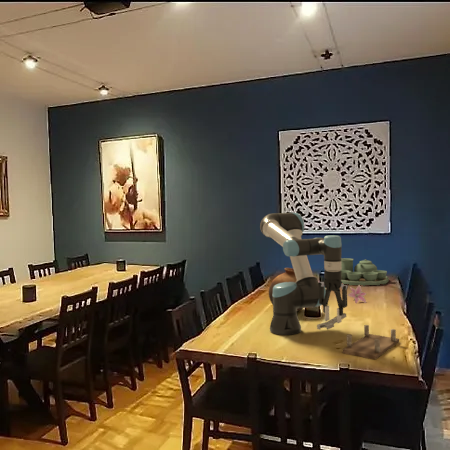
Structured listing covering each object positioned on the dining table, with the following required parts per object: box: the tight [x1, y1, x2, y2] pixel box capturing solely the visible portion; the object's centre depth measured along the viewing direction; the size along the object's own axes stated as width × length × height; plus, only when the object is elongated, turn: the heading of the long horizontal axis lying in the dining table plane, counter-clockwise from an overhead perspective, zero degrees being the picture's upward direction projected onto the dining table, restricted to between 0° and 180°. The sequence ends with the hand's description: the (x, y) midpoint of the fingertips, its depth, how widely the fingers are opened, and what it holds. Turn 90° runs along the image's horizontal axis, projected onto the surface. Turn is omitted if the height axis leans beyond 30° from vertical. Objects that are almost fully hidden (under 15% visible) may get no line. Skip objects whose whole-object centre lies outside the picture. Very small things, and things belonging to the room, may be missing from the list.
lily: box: [347, 285, 367, 304], centre depth 285 cm, size 12×12×10 cm
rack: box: [341, 324, 400, 360], centre depth 197 cm, size 14×27×6 cm, turn 140°
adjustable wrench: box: [316, 312, 347, 330], centre depth 208 cm, size 25×6×2 cm, turn 139°
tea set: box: [340, 257, 390, 287], centre depth 353 cm, size 40×40×16 cm
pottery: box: [268, 267, 304, 312], centre depth 265 cm, size 23×23×25 cm
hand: (333, 321), depth 207 cm, fingers closed on adjustable wrench, 5 cm apart
